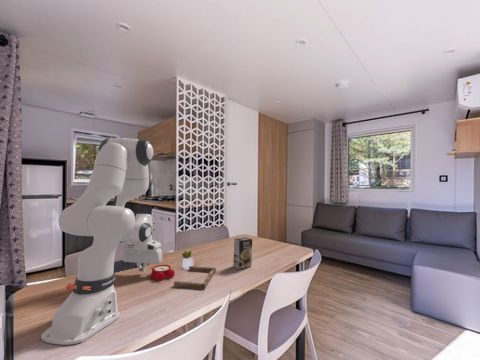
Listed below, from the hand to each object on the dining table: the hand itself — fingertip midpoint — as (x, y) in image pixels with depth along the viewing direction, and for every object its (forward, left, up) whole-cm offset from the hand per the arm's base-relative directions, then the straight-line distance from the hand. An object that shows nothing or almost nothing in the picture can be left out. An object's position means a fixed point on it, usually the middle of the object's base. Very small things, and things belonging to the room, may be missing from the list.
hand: (142, 271), depth 121 cm
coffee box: (+22, -50, -2) cm, 55 cm away
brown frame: (0, -28, -2) cm, 28 cm away
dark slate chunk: (+11, +15, -2) cm, 18 cm away
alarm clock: (0, -12, -2) cm, 12 cm away
